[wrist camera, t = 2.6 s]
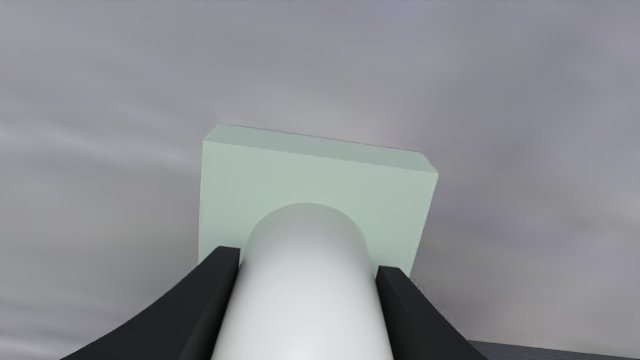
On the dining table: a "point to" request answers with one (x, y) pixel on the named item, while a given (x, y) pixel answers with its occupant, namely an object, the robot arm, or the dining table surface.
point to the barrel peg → (304, 292)
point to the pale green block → (313, 188)
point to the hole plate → (532, 353)
